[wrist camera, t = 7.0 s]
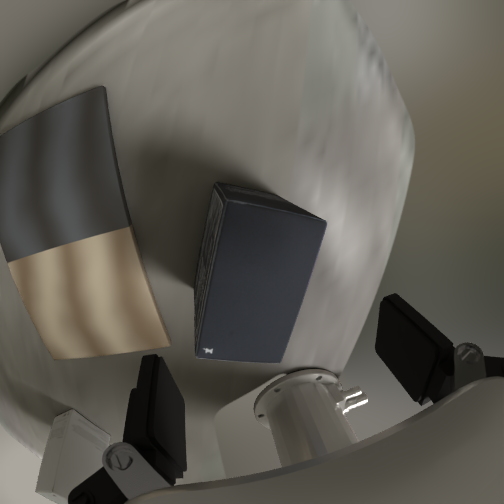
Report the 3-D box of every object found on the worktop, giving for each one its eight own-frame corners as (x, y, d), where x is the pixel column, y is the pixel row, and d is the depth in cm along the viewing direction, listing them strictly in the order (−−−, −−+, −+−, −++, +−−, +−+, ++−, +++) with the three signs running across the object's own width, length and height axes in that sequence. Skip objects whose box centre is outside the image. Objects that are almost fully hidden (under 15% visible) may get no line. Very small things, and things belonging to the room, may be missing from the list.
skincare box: (54, 415, 30) (31, 490, 16) (74, 406, 30) (50, 491, 15) (92, 442, 33) (79, 515, 19) (114, 436, 33) (103, 517, 18)
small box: (256, 298, 28) (284, 368, 18) (192, 289, 27) (190, 361, 17) (284, 195, 25) (334, 222, 15) (213, 180, 24) (220, 197, 14)
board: (105, 88, 19) (102, 85, 18) (170, 340, 28) (170, 346, 27) (-14, 148, 17) (-19, 148, 16) (56, 355, 27) (54, 360, 26)
